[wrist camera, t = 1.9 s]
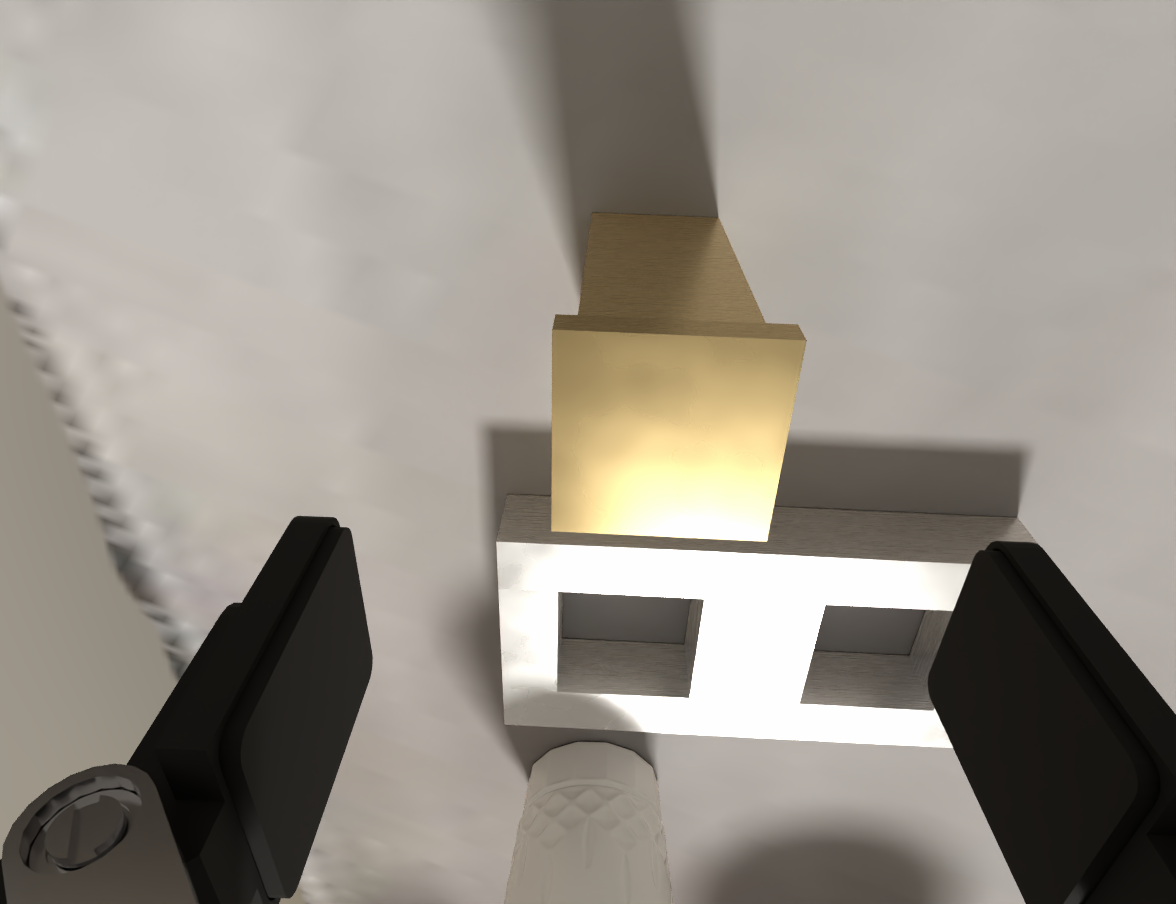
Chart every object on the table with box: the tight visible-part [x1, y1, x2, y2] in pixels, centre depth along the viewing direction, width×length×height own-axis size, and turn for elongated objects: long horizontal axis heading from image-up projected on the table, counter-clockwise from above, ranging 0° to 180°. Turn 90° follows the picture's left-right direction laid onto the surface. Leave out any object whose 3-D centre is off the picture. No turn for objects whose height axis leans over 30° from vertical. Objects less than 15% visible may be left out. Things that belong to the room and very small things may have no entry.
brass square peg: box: [551, 213, 807, 542], centre depth 20 cm, size 5×5×11 cm
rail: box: [496, 494, 1038, 748], centre depth 30 cm, size 20×10×3 cm, turn 88°
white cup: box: [504, 742, 673, 904], centre depth 34 cm, size 8×8×10 cm
